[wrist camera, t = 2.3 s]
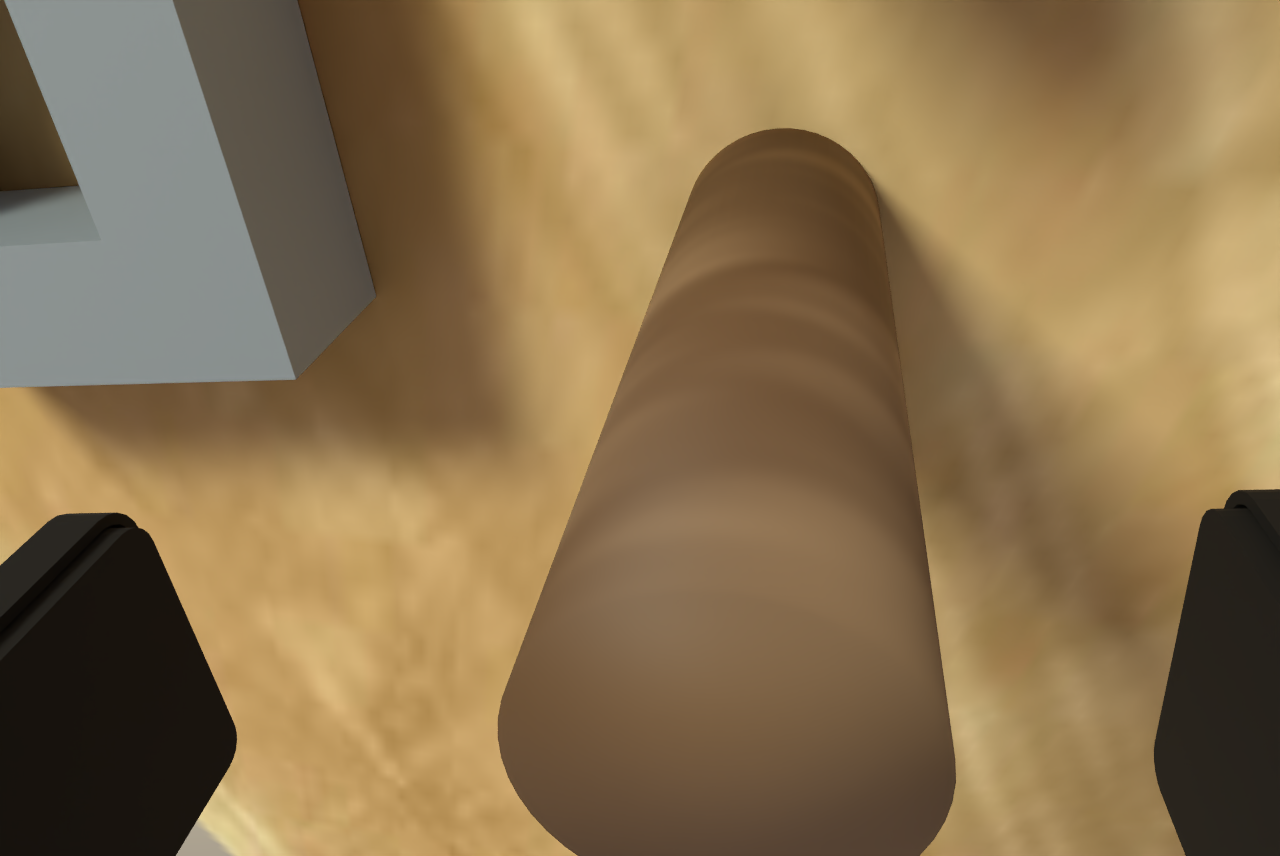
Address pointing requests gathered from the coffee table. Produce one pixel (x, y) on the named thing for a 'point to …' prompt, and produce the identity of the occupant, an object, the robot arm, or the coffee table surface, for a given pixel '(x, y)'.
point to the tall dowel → (746, 553)
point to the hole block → (177, 200)
